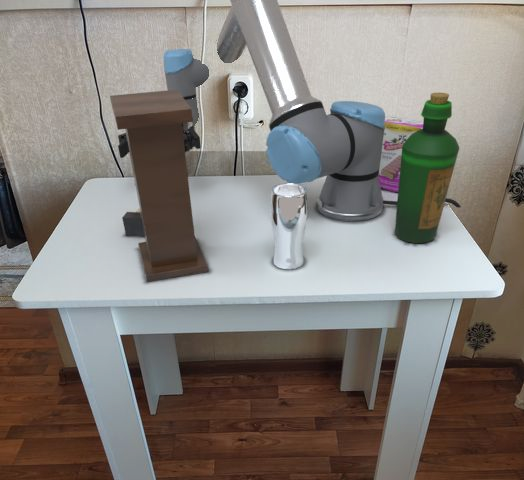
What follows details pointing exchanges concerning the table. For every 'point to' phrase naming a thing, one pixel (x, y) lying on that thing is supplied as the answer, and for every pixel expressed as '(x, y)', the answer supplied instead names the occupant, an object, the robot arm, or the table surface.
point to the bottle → (426, 173)
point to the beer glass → (289, 223)
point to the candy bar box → (394, 150)
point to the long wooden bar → (133, 224)
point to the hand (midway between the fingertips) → (149, 152)
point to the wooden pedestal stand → (161, 181)
